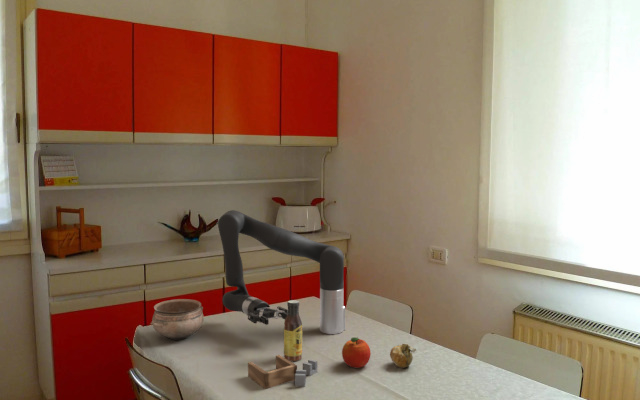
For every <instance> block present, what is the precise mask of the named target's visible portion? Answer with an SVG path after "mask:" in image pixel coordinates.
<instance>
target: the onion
mask: <svg viewBox="0 0 640 400" xmlns="http://www.w3.org/2000/svg"><path fill="white" fill-rule="evenodd" d="M416 351H417V349H416V348H415V347H412V346H411V345H409V344H408V343H402V344H398V345H396V346H393V347H392V348H391V349H390V353H389V357H390V359H391V361H392V363H394V365H395V366H396V367H398V368H402V369H404V368H408V367H409V366H410V365H411V363H412V361H413V358H414V357H413V353H416Z"/></svg>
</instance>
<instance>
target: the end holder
mask: <svg viewBox="0 0 640 400" xmlns="http://www.w3.org/2000/svg"><path fill="white" fill-rule="evenodd" d="M296 370H298V365H297V364H296V363H294V362H293V361H289V360H287V359H285V358H284V356H282V355H280V354H277V355H275V369H273V370H270V371H266V370H264V369H262V368H261V367H260V366H258V365H257V364H255V363H254V362H252V361H250V362H247V376H248V378H250V379H251V380H252V381H254V382H255V383H256V384H257V385H259V386H261V387H262V388H263V389H265V390H266V389H270V388H273V387H276V386H281V385H283V384H286V383H290V382H293V381H294V382H295V374H296Z"/></svg>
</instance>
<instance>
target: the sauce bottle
mask: <svg viewBox="0 0 640 400" xmlns="http://www.w3.org/2000/svg"><path fill="white" fill-rule="evenodd" d="M299 307H300V301H299V300H296V299H294V300H293V299H291V300H288V301H287V310H288V315H287V317H286V318H285V319H284V323H283V327H284V328H283V354H284V355H283V358H285V359H287V360H289V361H290V362H296V361H300V360H301V359H302V356H303V322H302V320H301V316H300V313H299V311H300V308H299Z"/></svg>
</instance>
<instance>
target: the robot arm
mask: <svg viewBox="0 0 640 400" xmlns="http://www.w3.org/2000/svg"><path fill="white" fill-rule="evenodd" d="M217 227H218V233H219V236H220V241H221V245H222V250H223V258H224V259H223V260H224V270H225V271H224V272H225V274H224V275H225V282H226V283H225V284H226V285H227V286H229V287H237V288H236V289H233V290H230V291H227V292H225V293H224V295H223V296H222V305H223V306H224V307H225V308H226V309H227V310H229V311H233V312H241V313H243V314H244V315H246V316H247V320H249V321H250V322H251V323H253V324H257V323H258V324H263V325H266V326H268V325H269V319H283V320H285V318H286V317H287V315H288V308H284V307H282V306H280V305H279V306H276V308H273V307H271V306H270V304H269V303H268V302H266V301H264V300H262V299H259V298H257V297H254V296H252V295H250V294H249V291H248V290H247V287H246V283H245V279H244V267H243V266H244V265H243V260H242V257H241V254H240V248H239V235H240V234H242V235H244V236H245V235H246V236H248V237H251V238H253V239H255V240H257V241H258V242H260V243H261V244H262V245H264V246H265V247H267V248H268V249H270V250H272V251H275V252H278V253H281V254H283V255H288V256H292V257H293V256H294V257H302V258H307V259H310V260H311V261H315V262H317V263H319V332H321V333H323V334H328V335H336V334H340V333H342V332H344V331H346V306H345V305H344V288H345V287H344V266H345V264H344V262H345V261H344V260H345V255H344V252H343V251H342V249H341V248H339V247H337V246H334V245H332V244H331V245H330V244H327V243H326V244H325V243H323V242H317V241H315V240H313V239H310V238H307V237H305V236H303V235H301V234H298V233H296V232H294V231H290V230H288V229H285V228H282V227H279V226H276V225H273V224H270V223H267V222H264V221H260V220H258V219H256V218H253V217H251V216H249V215H247V214H245V213H243V212H241V211H239V210H235V209H231V210H228V211H226V212H225V213H224V214H222V215H221V216H220V217H219V219H218V222H217Z"/></svg>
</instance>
